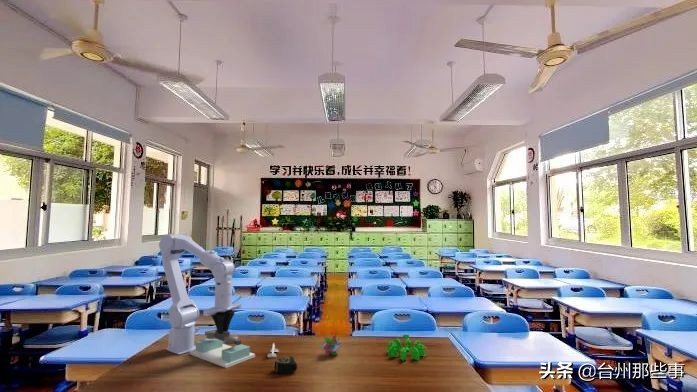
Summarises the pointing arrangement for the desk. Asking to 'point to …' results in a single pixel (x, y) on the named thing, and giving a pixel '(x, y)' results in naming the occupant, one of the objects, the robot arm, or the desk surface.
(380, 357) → the desk surface
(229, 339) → the rod with two spheres
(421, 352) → the green lumpy cluster
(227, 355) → the stand
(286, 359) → the tape measure
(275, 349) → the white tapered piece
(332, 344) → the geometric puzzle
